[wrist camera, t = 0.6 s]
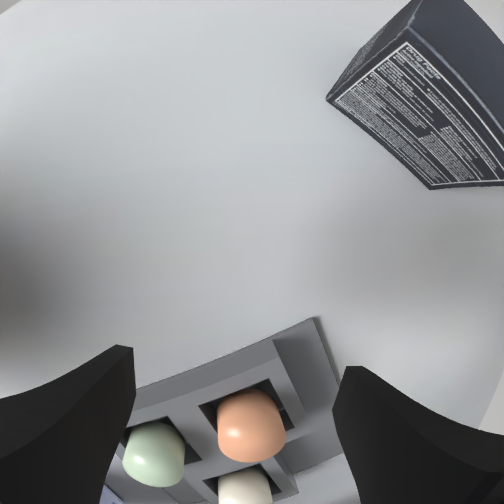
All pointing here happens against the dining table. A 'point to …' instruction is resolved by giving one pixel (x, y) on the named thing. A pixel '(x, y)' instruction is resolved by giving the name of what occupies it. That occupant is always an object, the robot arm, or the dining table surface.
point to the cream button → (244, 487)
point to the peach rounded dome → (249, 426)
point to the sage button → (155, 454)
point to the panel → (247, 377)
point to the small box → (432, 94)
